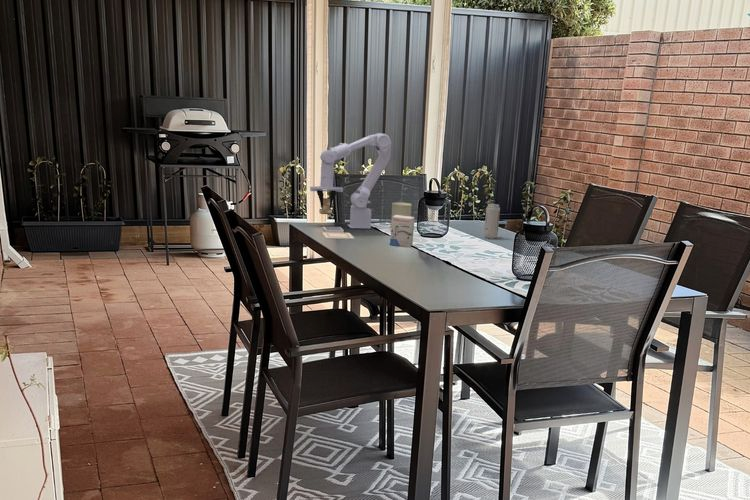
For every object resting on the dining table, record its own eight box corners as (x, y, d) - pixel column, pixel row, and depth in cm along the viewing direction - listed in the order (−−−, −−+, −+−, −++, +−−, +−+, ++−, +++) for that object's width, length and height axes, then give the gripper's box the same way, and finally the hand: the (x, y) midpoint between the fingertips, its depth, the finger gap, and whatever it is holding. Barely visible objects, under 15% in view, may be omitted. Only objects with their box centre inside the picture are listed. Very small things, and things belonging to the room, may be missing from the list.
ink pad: (340, 229, 301) (340, 226, 300) (343, 232, 293) (343, 229, 293) (322, 228, 299) (322, 226, 299) (325, 232, 291) (325, 229, 291)
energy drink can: (483, 236, 303) (486, 203, 300) (496, 237, 303) (499, 204, 300) (484, 238, 298) (487, 205, 295) (497, 239, 297) (501, 206, 294)
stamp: (330, 212, 307) (330, 198, 305) (332, 214, 302) (332, 199, 301) (319, 212, 306) (319, 197, 304) (320, 214, 301) (321, 199, 299)
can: (390, 226, 317) (391, 200, 314) (409, 227, 317) (411, 201, 314) (390, 229, 307) (392, 203, 305) (410, 230, 308) (412, 204, 305)
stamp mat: (349, 233, 291) (349, 232, 291) (354, 239, 280) (354, 237, 280) (321, 233, 288) (321, 232, 288) (325, 238, 277) (325, 237, 277)
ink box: (389, 245, 271) (391, 216, 269) (392, 243, 276) (394, 214, 274) (410, 247, 269) (412, 218, 267) (413, 245, 274) (415, 216, 271)
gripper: (341, 176, 306) (340, 206, 309) (309, 175, 303) (308, 205, 305) (344, 178, 299) (343, 208, 302) (311, 177, 296) (310, 208, 299)
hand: (325, 207), depth 303 cm, fingers closed on stamp, 3 cm apart
